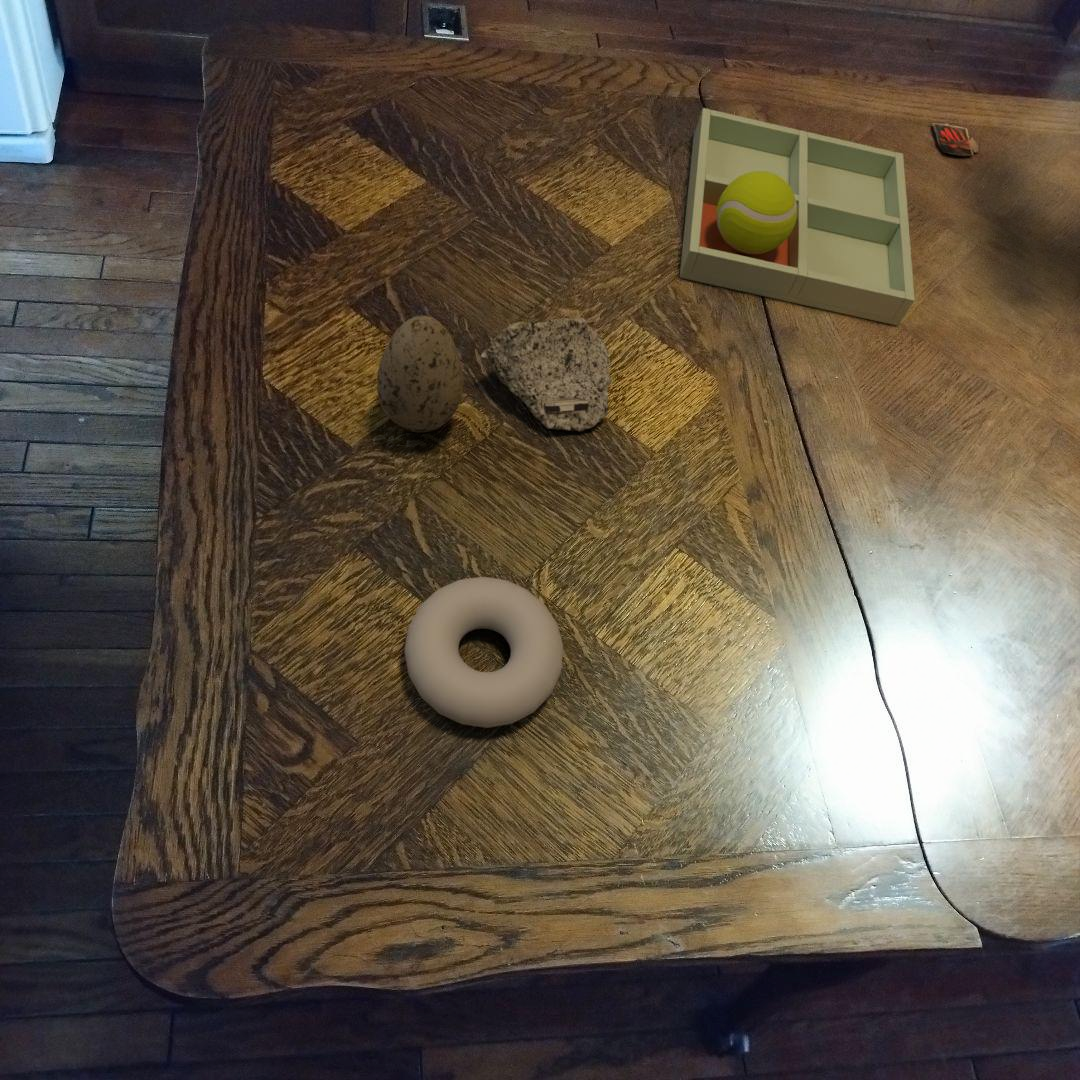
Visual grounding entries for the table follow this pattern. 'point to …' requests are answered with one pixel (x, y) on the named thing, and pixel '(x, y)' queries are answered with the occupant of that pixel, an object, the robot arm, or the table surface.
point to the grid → (804, 219)
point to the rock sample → (555, 370)
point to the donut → (473, 691)
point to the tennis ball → (756, 212)
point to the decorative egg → (420, 376)
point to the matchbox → (955, 140)
